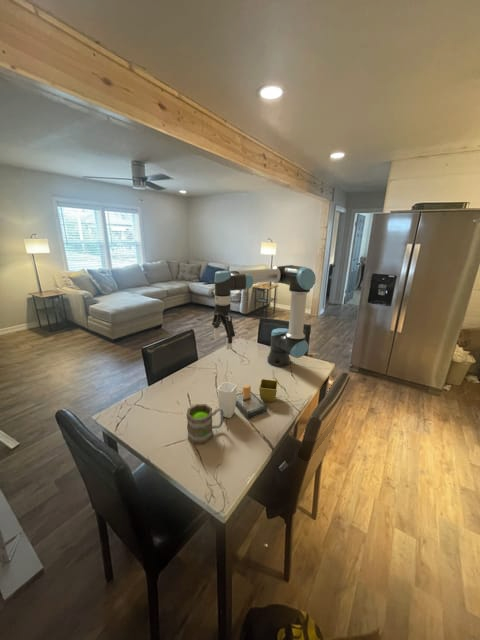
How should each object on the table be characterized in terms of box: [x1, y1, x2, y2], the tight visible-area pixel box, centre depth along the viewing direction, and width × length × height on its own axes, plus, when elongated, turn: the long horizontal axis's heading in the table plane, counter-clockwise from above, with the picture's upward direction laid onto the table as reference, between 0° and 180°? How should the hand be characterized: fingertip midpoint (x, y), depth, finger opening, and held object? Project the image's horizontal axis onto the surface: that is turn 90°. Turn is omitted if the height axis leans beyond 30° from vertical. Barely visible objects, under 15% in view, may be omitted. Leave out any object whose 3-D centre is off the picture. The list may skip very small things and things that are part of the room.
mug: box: [186, 403, 224, 446], centre depth 109 cm, size 16×11×12 cm
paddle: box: [242, 384, 252, 400], centre depth 129 cm, size 4×1×7 cm, turn 121°
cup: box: [217, 381, 238, 419], centre depth 121 cm, size 7×7×15 cm
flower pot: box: [258, 378, 279, 403], centre depth 134 cm, size 9×9×9 cm
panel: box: [235, 390, 268, 420], centre depth 129 cm, size 11×16×3 cm
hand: (222, 344), depth 133 cm, fingers open, 13 cm apart
